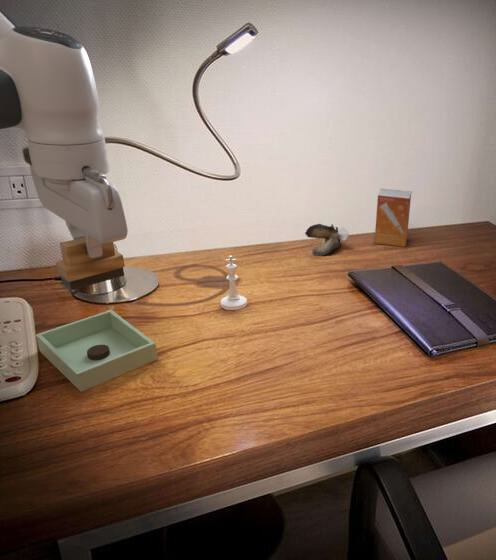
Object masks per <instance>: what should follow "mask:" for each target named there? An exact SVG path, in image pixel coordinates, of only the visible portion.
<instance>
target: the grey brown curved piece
mask: <svg viewBox="0 0 496 560" xmlns="http://www.w3.org/2000/svg"><path fill="white" fill-rule="evenodd" d="M304 234H305V236H306V237H307V238H311V239H312V238H313V239H324V240H323V241H322V242H321V244H320V245H319V246H317V247H316V248H314V249H312V252H311V253H312V255H313V256H326V255H329V253H331V252H332V251H333V250H335V249H337V248H338V247H339V246H341V245H342V244H341V241H342V242H345V241H346V240H347V239H348V238H349V231H348V230H347V229H346V228H344V227H341V228H340V229H339V227H338V226H334V224H333V223H331V225H330V226H329V225H326V224H325V225H324V224H321V223H316V224H313V225H310V226H309V227H308V228H306V231H305V232H304Z"/></svg>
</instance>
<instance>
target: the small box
mask: <svg viewBox="0 0 496 560" xmlns="http://www.w3.org/2000/svg"><path fill="white" fill-rule="evenodd" d="M411 200H412V191H410V190H400V189H393V188H392V189H390V188H388V189H387V188H379V192H378V194H377V200H376V201H377V203H376V215H375V230H374V231H375V233H374V244H376V245H386V246H393V247H394V246H395V247H401V248H402V247H403V248H405V247H406V245H407V240H408V231H409V222H410V211H411V210H410V209H411Z"/></svg>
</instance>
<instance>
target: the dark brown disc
mask: <svg viewBox="0 0 496 560" xmlns="http://www.w3.org/2000/svg"><path fill="white" fill-rule="evenodd" d="M109 354H110V350H109V347H108V346H107V345H95V346H93V347H91V348H89V349H88V350H87V355H88V358H89V359H90V360H101V359H104V358H106V357H108V356H109Z"/></svg>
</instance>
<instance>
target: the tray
mask: <svg viewBox="0 0 496 560" xmlns="http://www.w3.org/2000/svg"><path fill="white" fill-rule="evenodd" d="M35 338H36V342H37V346H38V350H39V352H40V353H41V354H42V355H43V356H44V357H45V358H46V359H47V360H48V361H49V362H50V363H51V364H52V365H53V366H54V367H55V368H56V369H57V370H58V371H59V372H60V373H61V374H62V375H63V376H64V377H65V378H66V379H67V380H68V381H69V382H70V383H71V384H72V385H73V386H75V388H76V389H77V390H78V391H79V392H81V393H83V392H85V391H86V390H90V389H91V388H93V387H96V386H98V385H101V384H103V383H106V382H108V381H111V380H112V379H115V378H117V377H120V376H122V375H124V374H127V373H129V372H132V371H134V370H136V369H139V368H142V367H144V366H146V365H149V364H151V363H153V362H155V361H157V360H159V357H158V350H157V345H156V344H157V343H156V342H155V341H153V340H152V339H150V338H149V337H148V336H147V335H146V334H144V333H143V332H141V331H140V330H139V329H137V328H136V327H134V326H133V325H132V324H131V323H130V322H128V321H127V320H125V319H124V318H123V317H121V316H120V315H119V314H118V313H116V312H115V311H113V310H112V309H109V310H105V311H103V312H100V313H97V314H94V315H90V316H88V317H85V318H82V319H77V320H76V321H73V322H70V323H67V324H64V325H61V326H57V327H54V328H50V329H49V330H44V331H42V332H39V333H36V334H35ZM95 345H107V346H108V347H109V350H110V354H109V356H108V357H106V358H104V359H101V360H90V359H89V358H88V355H87V350H88V349H89V348H91V347H93V346H95Z"/></svg>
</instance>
